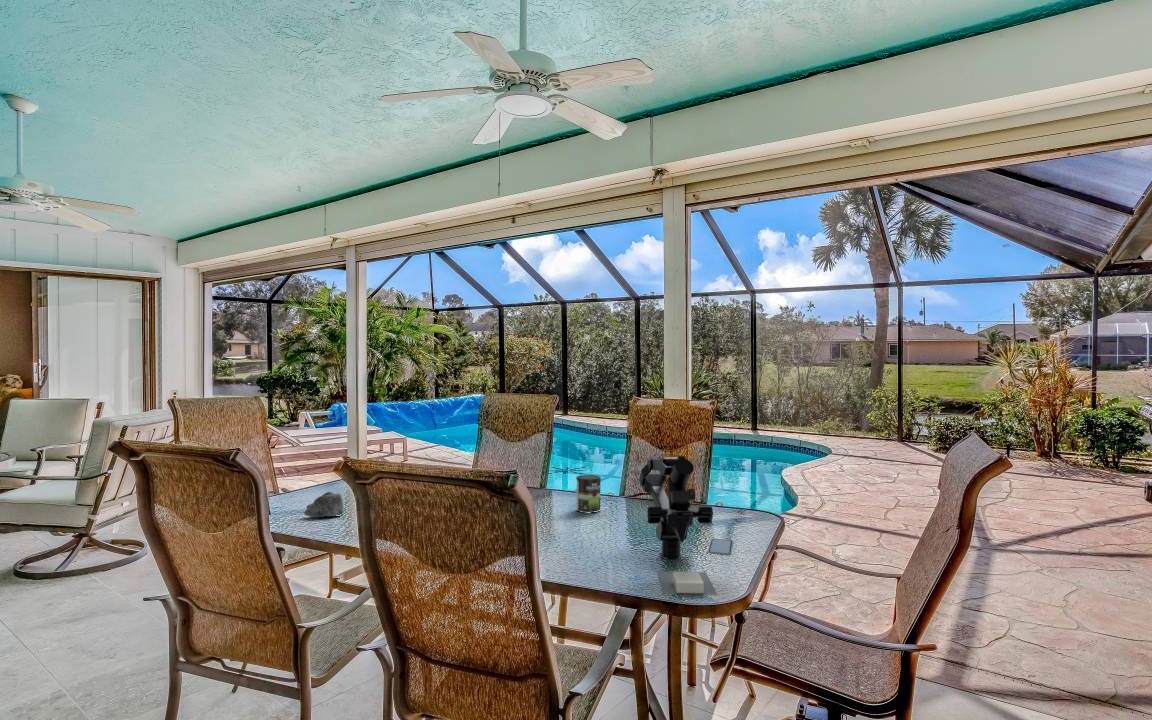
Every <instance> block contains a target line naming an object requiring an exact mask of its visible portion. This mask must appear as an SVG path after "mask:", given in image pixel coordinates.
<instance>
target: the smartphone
mask: <svg viewBox="0 0 1152 720" xmlns="http://www.w3.org/2000/svg"><path fill="white" fill-rule="evenodd" d="M733 544H734V540H732V539H725V538H724V539H723V538H711V539H710V543H709V546H708V549H707V553H708V554H711V553H712V554H713V555H722V556H731V555H732V552H733V546H734V545H733Z"/></svg>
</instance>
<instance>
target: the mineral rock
mask: <svg viewBox="0 0 1152 720" xmlns="http://www.w3.org/2000/svg"><path fill="white" fill-rule="evenodd" d="M343 511H344V500H343V497H342V494H341V493H335V492H332V491H327V492H325V493H323V494H322V495H321V496H319V497H317V498H315V499H314V501H313V502H312V503H310V504H308V505H306V510H305V511H304V515H305V516H308V517H313V518H321V517H322V518H325V517H324V516H327V518H328V517H330V516H336V515H340V514H342V513H343V514H344V512H343Z"/></svg>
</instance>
